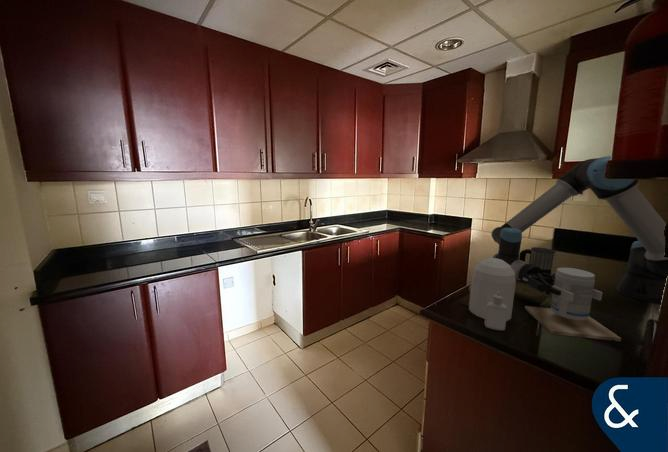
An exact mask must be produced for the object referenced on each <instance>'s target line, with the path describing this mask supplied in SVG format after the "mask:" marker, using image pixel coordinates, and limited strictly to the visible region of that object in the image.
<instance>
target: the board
mask: <svg viewBox="0 0 668 452" xmlns="http://www.w3.org/2000/svg"><path fill="white" fill-rule="evenodd" d="M524 309H525V310H526V311H527V312H528V313H529V314H530V315H531V316H532V317H533V318H534V319H536V320H537V322H538V323H539V324H540V325H541V326H542V327H544V329H545V330H547V332H548V333H550V334H551V335H560V336H569V337H577V338H586V339H587V338H588V339H594V340H604V341H612V340H614V342H621V341H622V337H620V336H618V335H617V334H616V333H615V332H613V331H612V330H610V329H608V328H607V327H605V326H604V325H603V324H602V323H600V322H598V321H597V320H595V319H594V318H592V317H591V316H590V315H589V318H588V319H586V320H573V319H569V318H565V317H562V316H560V315H558V314H556V313H554V312H553V311H552V310H551V307H539V306H530V305H529V306H528V305H525V306H524Z"/></svg>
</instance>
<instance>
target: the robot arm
mask: <svg viewBox="0 0 668 452" xmlns="http://www.w3.org/2000/svg"><path fill="white" fill-rule="evenodd" d="M611 156H612V155H608V156H607V155H606V156H603V157H602V156H601V157H597V158H589V159H585V160H583V161H581V162H578V163H577V164H575V165H574V166H573V167H572V168H570V169H569V170H568V171H566V172H565V173H564V174H563V175H561V176H560V177H559V178H558V179H557V180H556V181H555V184H554V185H552V186H551V187H550V188H548V190H547V191H545V192H544V193H543V194H541V195H540V196H539V197H538V198H537V197H536V199H535V200H533V201H531V203H529V204H528V205H527V206H526V207H524V208H523V209H522V210H520V211H519V212H517V214H515V215H514V216H513V217H511V218H510V219H509V220H508V221H506V222H505V223H504V224H502V225H501V226H497V227H495V228H494V229H493V230H492V232H491V238H492V239H493V242H495V243H497V244H498V250H497V251H498V252H497V253H495V254H494V255H493V256H492V258H497V259H501V260H503V261H505V262H506V263H507V264H509V265H510V266H511V267H512V269H513V270H514V272H515V279H516V281H522V283H525V284H527V285H529V286H530V287H532V288H533V289H535V290H536V291H538V292H540V293H544V292H545V295H547V296H550V294H551V295H553V294H554V295H556V296H558V297H560V298H563V299H565V300H567V301H569V302H573V298H574V293H571V292H569V291H566V290H564V289H561V288H559V287H557V286H554V281H555V274H556V273H553V274H551V275H549V274H547V273H543V271H542V270H541V268H540V267H538V266H535V265H532V264H530V263H529V262H526V261H525V262H524V261H521V260H519V255H520V252H521V244H522V240H523V237H522V236H523V233H524V232H525V231H526V230H528V229H529V228H531V227H532V226H533V225H535V224H536V223H537V222H539V221H540V220H541V219H543V218H544V217H545V216H547V215H548V214H549V213H551V212H552V211H553V210H555V209H556V208H558V207H559V206H560V205H561V204H563V203H564V202H565V201H568V200H569V199H570V198H571V197H575V196H578V195H579V194H581V193H583V192H585V191H586V190H591V191H592V193H593V194H594V195H595V196H596V197H597V199H598V200H603V201H606V202H607V203H608V204H609V205H610V207H611V208H612V209H613V210H614V212H615V213H616V214H617V216H618V217H619V218H620V219H621V220H622V222H623V223H624V224H625V226H627V229H629V231H630V232H631V233H632V234H633V235H634V237H635V238H636V239H637V240H636V241H633V242H632V244H631V246H630V249H629V250H630V252H629V257H628V263H627V266H626V271H625V274H624V276H623V278H622V279H621V280H620V282H619V283H618V284H617V286H616V292H618V294H621V295H623V296H625V297H629V298H631V299H632V298H633V299H636V300H639V301H643V302H648V303H654V304H662V303H661V300H662V295H663V290H664V287H665V283H666V278H667V276H668V258H665V257H664V253H665V236H664V230H665V226H666V224H667V223H666V222H665V220H664V219H663V218H662V217H661V216H660V214H659V213H658V212H657V210H655V208H654V207H653V206H652V205H651V203H650V202H649V200H647V198H646V197H645V196H644V195H643V193H642V192H641V191H640V190H639V188H638V185H639V183H640V180H639V179H638V178H637V179H607V178H605V173H606V165H607V163H608V161H609V160H610V159H611ZM602 297H603V291H600V290H598V289H593V295H592V299H594V300H597V301H602Z"/></svg>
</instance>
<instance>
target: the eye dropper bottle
mask: <svg viewBox="0 0 668 452" xmlns="http://www.w3.org/2000/svg"><path fill="white" fill-rule="evenodd" d="M502 299H503V297H502V296H500V292H497V294H496V295H494V298H493V302H489V303H487V306H486V314H485V319H484V326H485V328H488V329H491V330H494V331H505V330H506V325H507V321H506V318H507V307H506V305H504V304H502Z"/></svg>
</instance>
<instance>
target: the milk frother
mask: <svg viewBox="0 0 668 452" xmlns="http://www.w3.org/2000/svg"><path fill="white" fill-rule="evenodd" d="M527 254H528V255H529V261H528V263H530V264H532V265H535V266H538V267H540V268H541V270H542V271H543V273H547V274H549V275H552V267H553V263H554V258H555V254H556V250H553V249H550V248H546V247H537V246H536V247H535V246H534V247H531V249H529V248H527V249H526V248H525V249H522V250H520V253H519V260H521V261H524V262H526V256H527Z"/></svg>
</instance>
